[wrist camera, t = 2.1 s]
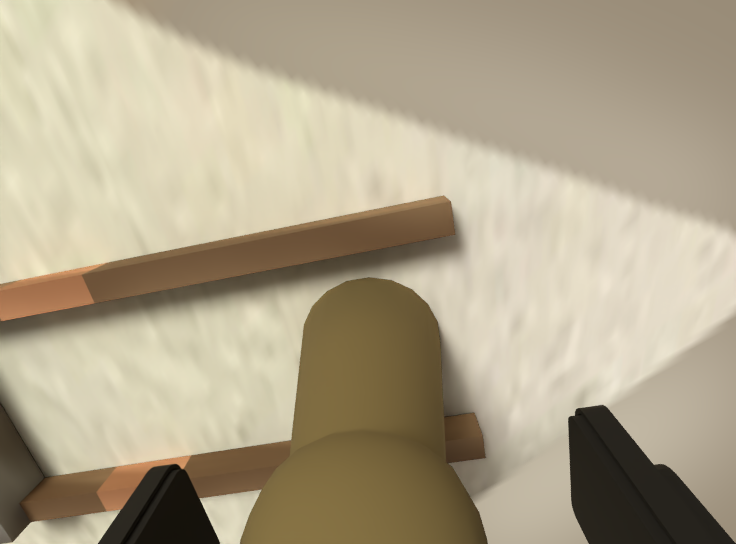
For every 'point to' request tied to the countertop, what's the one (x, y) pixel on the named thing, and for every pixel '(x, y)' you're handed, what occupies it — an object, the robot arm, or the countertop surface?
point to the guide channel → (177, 269)
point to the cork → (367, 431)
